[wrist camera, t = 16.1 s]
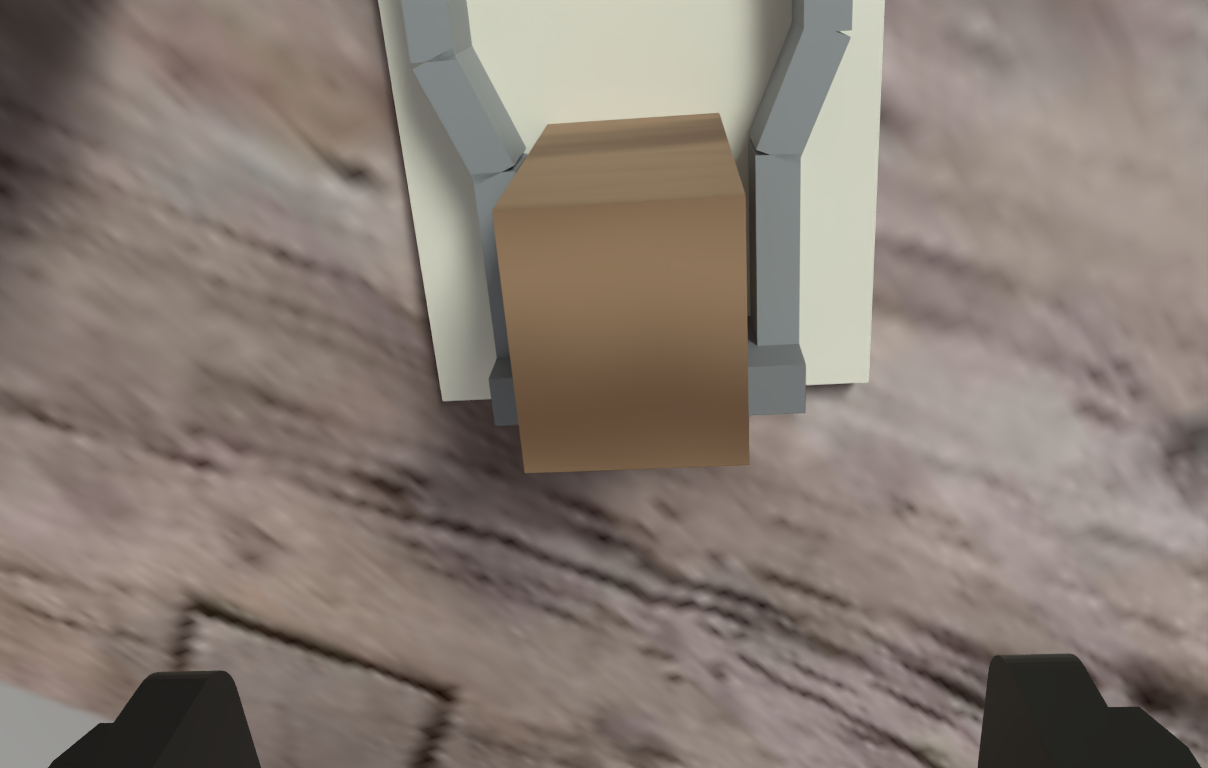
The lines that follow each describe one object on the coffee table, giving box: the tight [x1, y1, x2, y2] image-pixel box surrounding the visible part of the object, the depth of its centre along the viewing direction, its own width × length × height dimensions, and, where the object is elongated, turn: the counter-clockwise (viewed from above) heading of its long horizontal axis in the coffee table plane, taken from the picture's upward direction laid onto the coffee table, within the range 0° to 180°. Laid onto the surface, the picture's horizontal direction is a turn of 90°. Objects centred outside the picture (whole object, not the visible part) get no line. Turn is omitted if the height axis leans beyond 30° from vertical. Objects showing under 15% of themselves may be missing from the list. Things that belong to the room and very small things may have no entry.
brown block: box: [492, 113, 749, 473], centre depth 25 cm, size 6×5×10 cm
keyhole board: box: [378, 0, 885, 426], centre depth 26 cm, size 22×14×5 cm, turn 4°
